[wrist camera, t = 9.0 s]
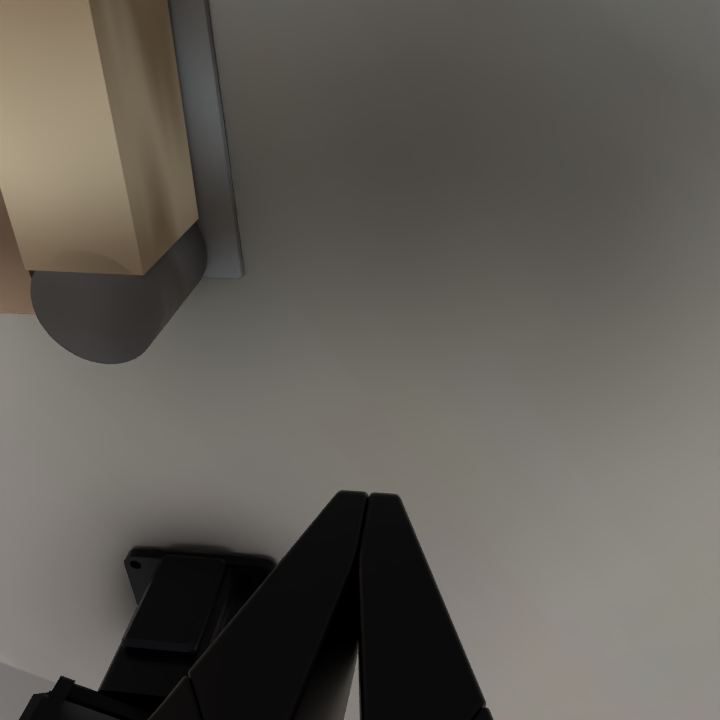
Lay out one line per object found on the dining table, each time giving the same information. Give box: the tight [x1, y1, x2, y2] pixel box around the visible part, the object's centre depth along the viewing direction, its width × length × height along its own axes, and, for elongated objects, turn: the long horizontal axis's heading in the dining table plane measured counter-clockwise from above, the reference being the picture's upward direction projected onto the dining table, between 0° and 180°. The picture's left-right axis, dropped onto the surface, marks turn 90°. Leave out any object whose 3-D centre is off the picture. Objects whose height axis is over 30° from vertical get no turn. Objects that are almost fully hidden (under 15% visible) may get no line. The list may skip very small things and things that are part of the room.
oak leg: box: [0, 0, 207, 364], centre depth 14 cm, size 16×3×4 cm, turn 1°
